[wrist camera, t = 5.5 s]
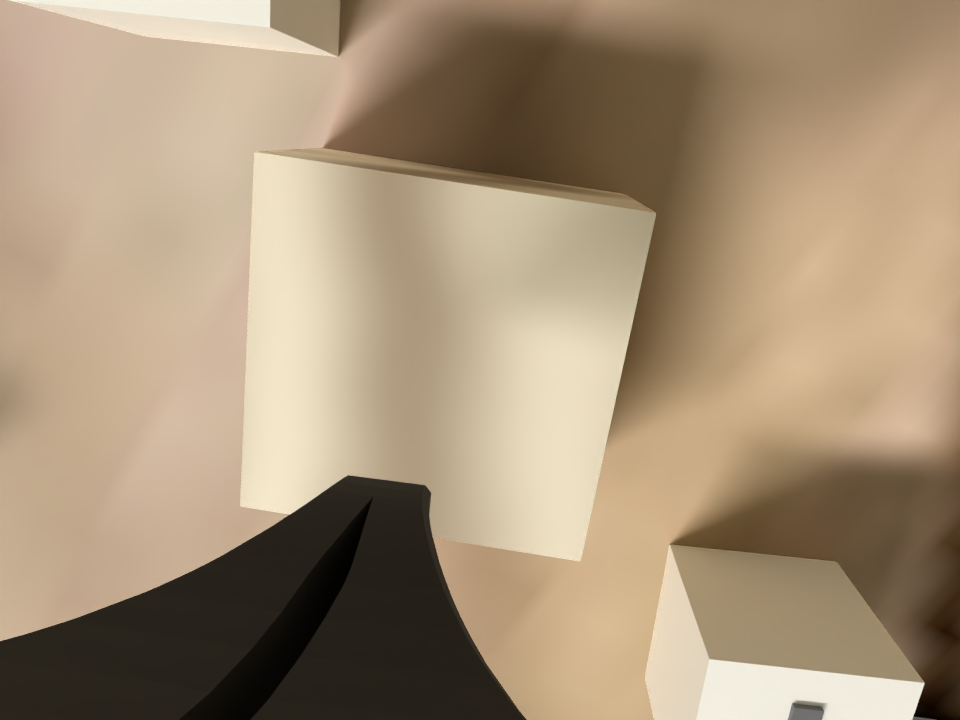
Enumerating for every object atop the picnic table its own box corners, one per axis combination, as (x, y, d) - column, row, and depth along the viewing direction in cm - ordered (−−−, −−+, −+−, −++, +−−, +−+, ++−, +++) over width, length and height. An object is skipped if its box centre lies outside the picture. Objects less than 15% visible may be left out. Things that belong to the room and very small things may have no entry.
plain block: (623, 193, 18) (656, 212, 14) (568, 465, 21) (580, 561, 16) (324, 147, 19) (254, 151, 14) (305, 422, 21) (240, 506, 16)
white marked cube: (835, 560, 21) (927, 687, 16) (799, 692, 23) (873, 846, 18) (668, 543, 21) (710, 663, 16) (644, 675, 23) (676, 822, 18)
